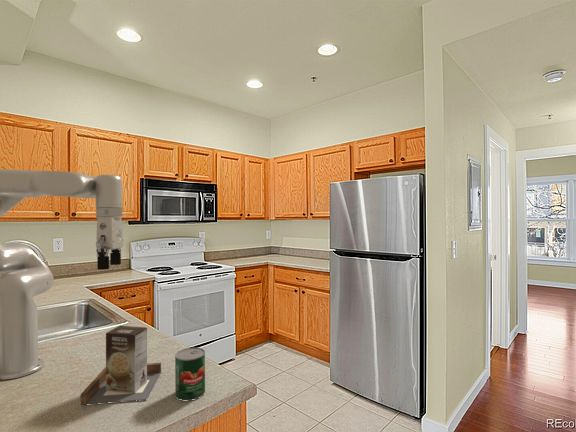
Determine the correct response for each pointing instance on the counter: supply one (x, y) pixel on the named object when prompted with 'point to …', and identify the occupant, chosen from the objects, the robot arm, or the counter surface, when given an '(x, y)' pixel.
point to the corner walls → (102, 378)
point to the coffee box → (126, 359)
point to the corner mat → (115, 396)
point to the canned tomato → (190, 373)
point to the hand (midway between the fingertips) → (109, 266)
